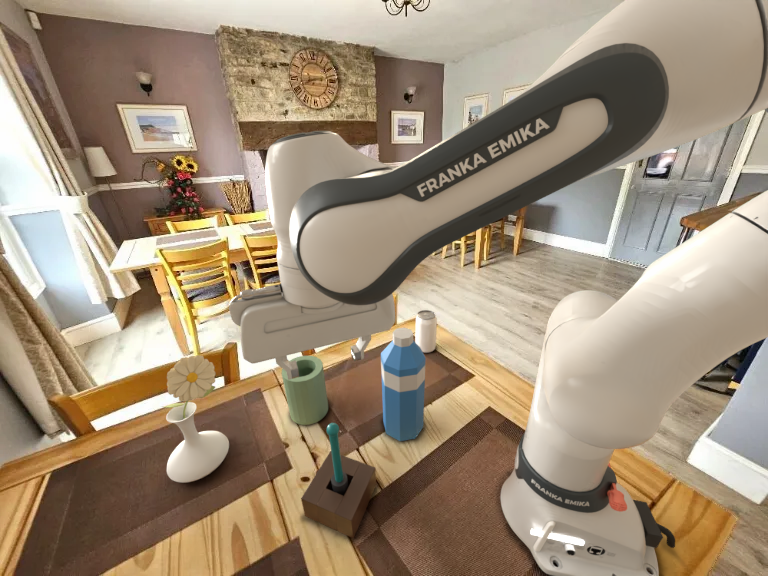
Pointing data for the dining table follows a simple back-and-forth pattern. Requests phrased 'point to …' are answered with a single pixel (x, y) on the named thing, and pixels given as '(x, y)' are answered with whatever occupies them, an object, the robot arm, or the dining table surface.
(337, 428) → the bottle brush
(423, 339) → the can
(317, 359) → the jar
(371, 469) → the brush holder
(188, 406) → the flower in vase
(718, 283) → the robot arm
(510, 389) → the dining table surface
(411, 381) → the water bottle
